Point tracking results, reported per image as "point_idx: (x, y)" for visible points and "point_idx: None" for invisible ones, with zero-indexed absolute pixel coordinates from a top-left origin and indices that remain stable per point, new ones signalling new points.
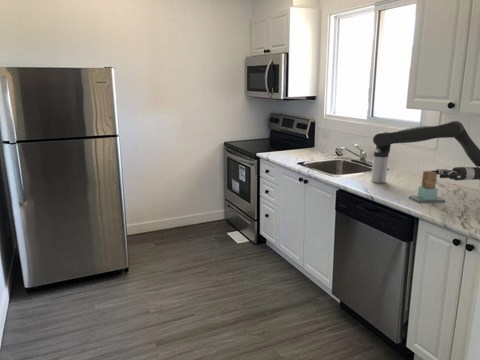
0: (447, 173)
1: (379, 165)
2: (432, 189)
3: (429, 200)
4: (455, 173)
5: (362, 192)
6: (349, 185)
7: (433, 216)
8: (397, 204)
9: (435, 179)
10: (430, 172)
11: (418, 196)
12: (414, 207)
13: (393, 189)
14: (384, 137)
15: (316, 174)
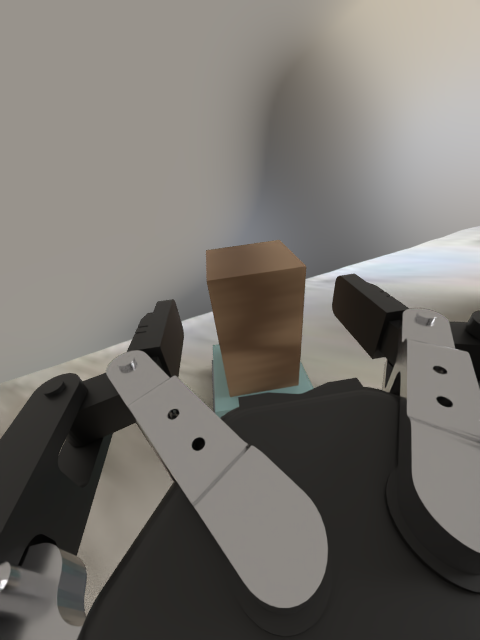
0: (250, 405)
1: None
2: (214, 377)
3: (213, 408)
4: (111, 605)
5: (321, 275)
6: (391, 261)
7: (55, 372)
8: (203, 317)
9: (218, 335)
10: (228, 256)
11: None
12: None
13: None
14: None
15: (475, 228)
